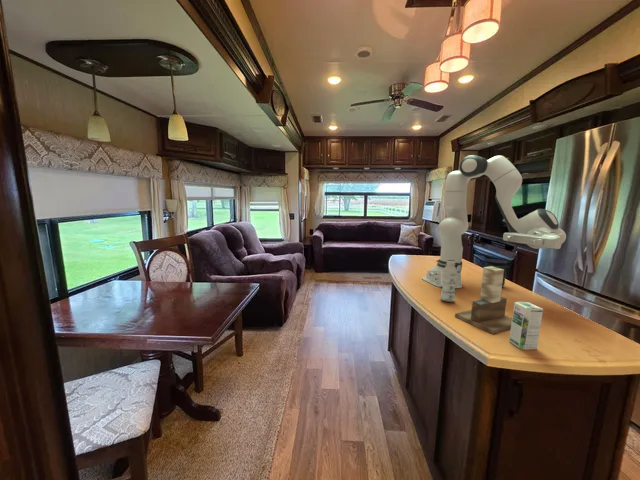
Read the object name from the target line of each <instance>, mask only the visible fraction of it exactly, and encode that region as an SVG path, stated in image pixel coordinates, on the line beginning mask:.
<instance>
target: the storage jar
mask: <svg viewBox="0 0 640 480" xmlns="http://www.w3.org/2000/svg"><path fill="white" fill-rule="evenodd" d="M507 265H508V261H506V260H503V259H496V258H487V259H486V263H485V267H491V266H492V267H496V268H500V269H504V275H503V283H502V290H503V289H504V288H505V282H506V278H505V276H506V272H507Z"/></svg>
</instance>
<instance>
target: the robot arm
mask: <svg viewBox="0 0 640 480" xmlns="http://www.w3.org/2000/svg"><path fill="white" fill-rule="evenodd" d="M458 166H459V167H458V168H459V169H458V170H454V171H451V172H449V173H448V174H447V176H446V179H445V180H446V181H445V186H444V194H443V195H444V199H443V201H444V202H443V207H444V209H445V214H446V217H445V218H444V219H443V220H441V221H440V223H439V224H438V228H437V230H438V232H439V237H440V255H439V256H440V258H439V259H436V260H435V261H436V263H437V264H436V265H435V266H432V267H431V268H429V269H428V270H427V272H426V275H425V276H422V278H421V279H422V280H423V281H424V282H427V283H428V284H431V285H433V286H435V287H439V288H442V287H443V269H444V268H445V267H446V266H447V264H446V263H447V260H454V261H455V265H454V266H455V268H456V269H457V272H458V273H457V277H456V282H455V289H461V288H463V283H462V281H463V280H462V269H463V261H462V260H463V252H464V251H463V250H464V246H463V241H462V235H465V233H467V231H468V230H469V222H468V211H467V196H468V184H469V182H470V181H472V180H475V179H479V178H481V177H483V176H484V175H485V176H486V177H488V178H489V180H490V181H491V182H492V183H493V185H494V187H495V191H496V192H495V195H494V199H495V203H496V204H497V206H498V208H499V211H500V213H501V215H502V217H503V219H504V221H505V224H506V226H507V230H508V232H504V233H503V235H502V236H503V237H502V240H503V241H506V242H512V243H518V244H526V245H527V246H528V247H530V248H532V249H536V250H540V249H541V250H543V249H552V250H559V249H561V247H562V245H563V243H565V241H566V239H567V234H566V232H565V231H564V230H563V229H561V228H560V226H559V220H558V218H557V217H556V215H555V214H554V213H553V212H552V211H550V210H548V209H545V208H544V209H543V208H537V209H536V210H534V211H531V212H529V213H528V214H526V215H524V216H523V217H520V218H518V217H517V215H516V213H515V210H514V208H513V207H512V203H511V201H512V199H513V197H514V196H515V195H516V193H517V192H518V191H519V190H520V188H521V186H522V183H523V177H522V175H521V173H520V172H519V170H518V168H516V167H515V165H514V164H513V163H512V162H511V161H510V160H509V159H508V158H506V157H505V156H504V155H500V154H499V155H495V156H493V157H491V158H489V159H486V158H485V157H482V156H480V155H475V154H471V155H467V156H465V157H463V158H462V159H461V161H460V163H459V165H458Z"/></svg>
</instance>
